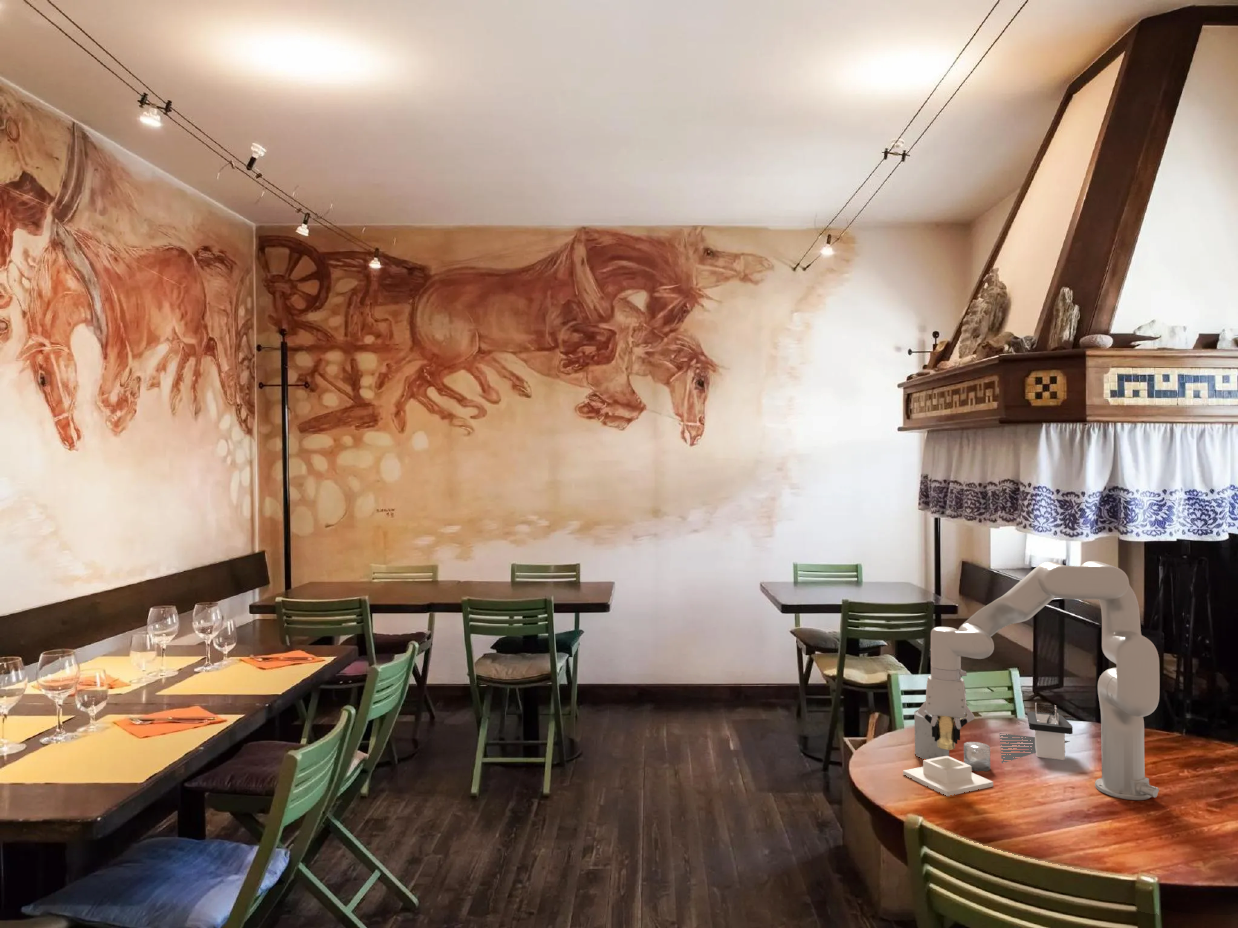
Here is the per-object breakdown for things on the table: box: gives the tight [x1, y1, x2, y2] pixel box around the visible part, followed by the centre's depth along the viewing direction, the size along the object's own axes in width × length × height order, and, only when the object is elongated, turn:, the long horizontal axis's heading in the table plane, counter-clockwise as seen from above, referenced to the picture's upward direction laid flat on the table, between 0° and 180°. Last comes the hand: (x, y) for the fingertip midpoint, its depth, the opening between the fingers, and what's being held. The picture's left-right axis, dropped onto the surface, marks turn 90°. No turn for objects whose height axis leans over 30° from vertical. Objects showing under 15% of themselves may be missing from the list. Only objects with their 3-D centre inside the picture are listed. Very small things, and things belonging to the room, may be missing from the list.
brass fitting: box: [937, 716, 956, 751], centre depth 218 cm, size 4×4×9 cm
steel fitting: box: [963, 741, 991, 772], centre depth 228 cm, size 7×7×6 cm
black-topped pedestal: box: [999, 702, 1073, 764], centre depth 238 cm, size 28×26×13 cm
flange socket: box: [902, 755, 994, 797], centre depth 218 cm, size 16×16×5 cm
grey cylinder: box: [913, 709, 950, 760], centre depth 237 cm, size 10×10×12 cm
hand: (945, 740), depth 218 cm, fingers closed on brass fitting, 4 cm apart
